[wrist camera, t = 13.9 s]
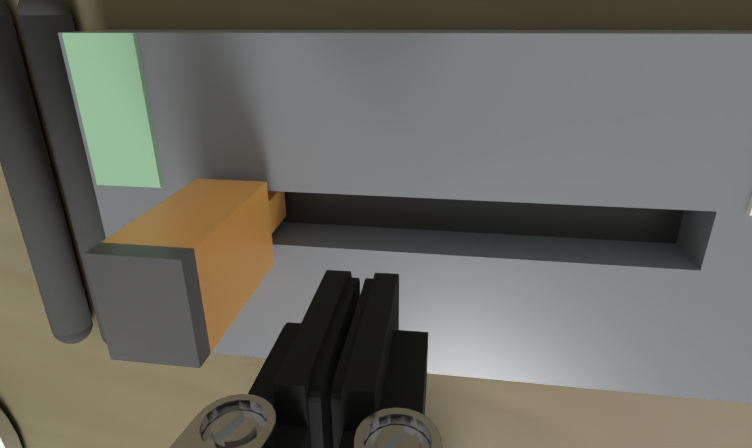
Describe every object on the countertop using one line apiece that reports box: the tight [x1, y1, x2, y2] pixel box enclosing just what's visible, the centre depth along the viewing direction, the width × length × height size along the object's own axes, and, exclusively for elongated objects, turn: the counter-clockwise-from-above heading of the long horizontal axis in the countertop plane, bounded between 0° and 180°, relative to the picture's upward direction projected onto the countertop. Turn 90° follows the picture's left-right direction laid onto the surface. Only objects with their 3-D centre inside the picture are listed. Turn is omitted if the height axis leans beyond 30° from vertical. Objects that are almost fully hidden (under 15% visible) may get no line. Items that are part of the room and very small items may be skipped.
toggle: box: [84, 179, 286, 368], centre depth 16 cm, size 3×2×8 cm
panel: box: [58, 29, 752, 403], centre depth 18 cm, size 12×24×3 cm, turn 90°
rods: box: [0, 0, 107, 344], centre depth 20 cm, size 15×4×2 cm, turn 0°
